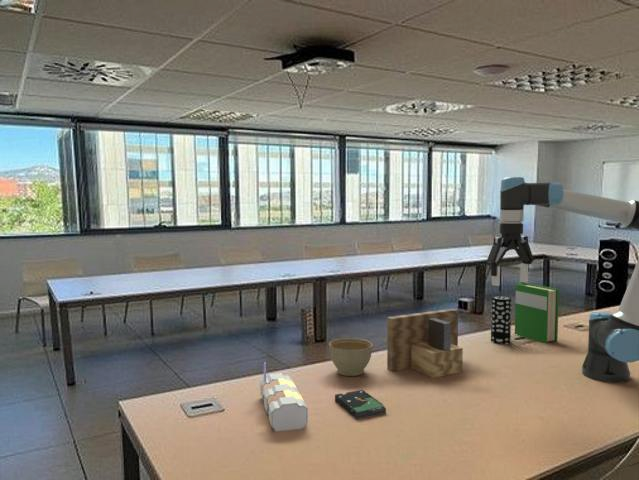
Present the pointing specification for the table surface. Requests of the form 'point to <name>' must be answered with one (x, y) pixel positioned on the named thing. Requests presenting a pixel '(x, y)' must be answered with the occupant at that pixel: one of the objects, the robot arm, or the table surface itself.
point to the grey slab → (439, 334)
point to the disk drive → (360, 404)
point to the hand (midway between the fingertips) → (510, 283)
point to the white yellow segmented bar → (284, 403)
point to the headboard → (422, 344)
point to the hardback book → (536, 312)
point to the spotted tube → (501, 320)
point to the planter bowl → (350, 355)
